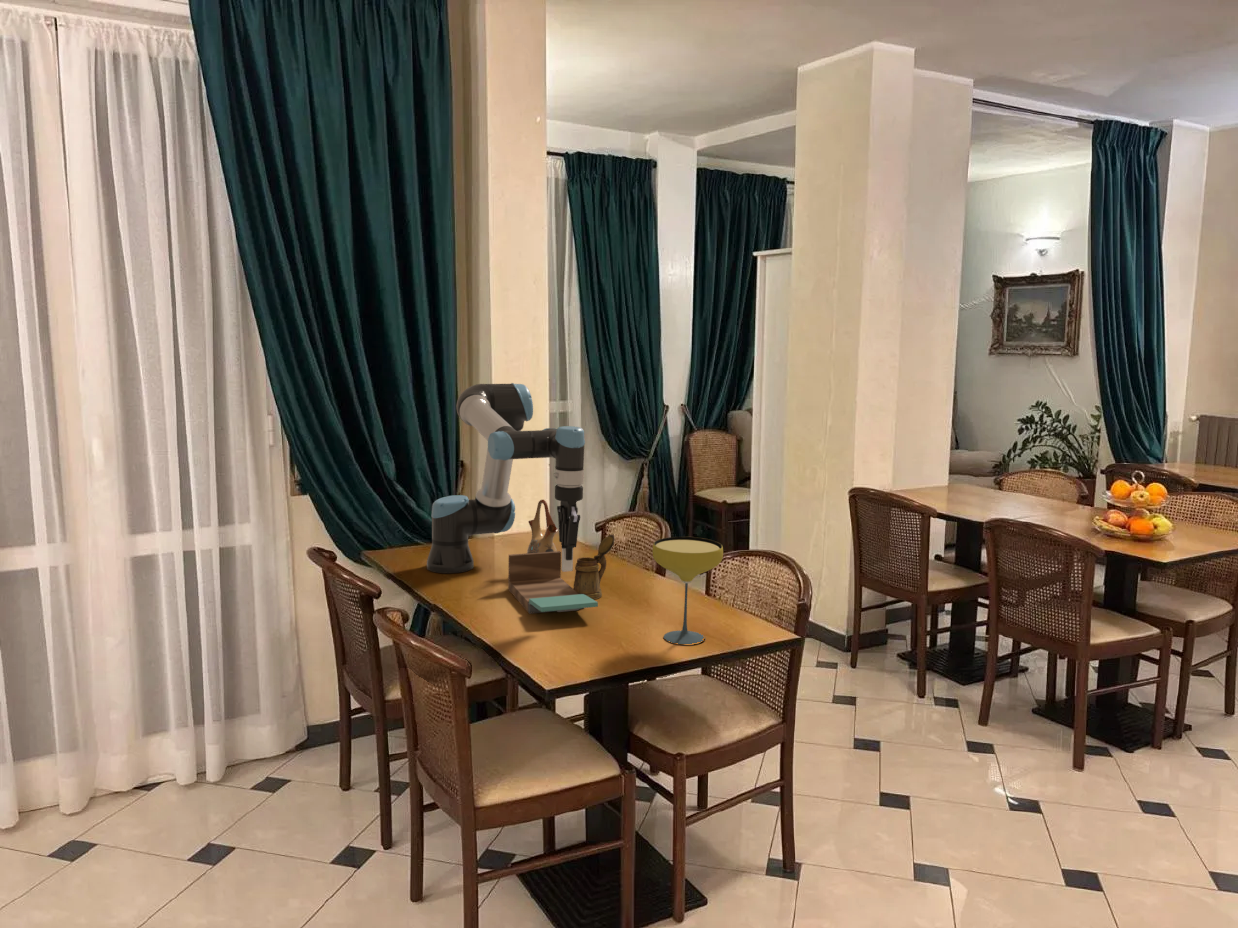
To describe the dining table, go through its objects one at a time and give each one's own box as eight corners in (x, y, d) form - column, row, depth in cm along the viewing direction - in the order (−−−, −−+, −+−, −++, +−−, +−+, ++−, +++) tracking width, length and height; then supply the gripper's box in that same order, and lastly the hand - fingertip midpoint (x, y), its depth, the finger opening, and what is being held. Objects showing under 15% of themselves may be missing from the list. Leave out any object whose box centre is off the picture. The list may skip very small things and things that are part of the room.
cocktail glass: (733, 638, 236) (737, 545, 232) (691, 656, 223) (694, 557, 219) (678, 622, 248) (681, 533, 244) (635, 638, 235) (638, 544, 231)
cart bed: (508, 589, 274) (508, 554, 273) (558, 585, 280) (559, 551, 278) (529, 613, 252) (529, 575, 251) (583, 608, 258) (584, 571, 256)
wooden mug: (620, 595, 271) (621, 537, 268) (580, 601, 264) (581, 541, 262) (605, 588, 279) (606, 531, 276) (566, 593, 272) (567, 535, 269)
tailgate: (529, 598, 252) (541, 607, 241) (583, 593, 258) (597, 602, 247) (529, 605, 252) (541, 614, 241) (583, 600, 258) (597, 609, 247)
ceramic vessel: (518, 571, 295) (518, 496, 291) (543, 568, 300) (543, 494, 296) (540, 584, 281) (541, 505, 277) (566, 580, 286) (567, 502, 282)
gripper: (548, 480, 246) (546, 565, 250) (562, 490, 234) (560, 578, 238) (574, 479, 248) (572, 563, 252) (590, 489, 236) (588, 576, 240)
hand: (567, 570), depth 245 cm, fingers closed
